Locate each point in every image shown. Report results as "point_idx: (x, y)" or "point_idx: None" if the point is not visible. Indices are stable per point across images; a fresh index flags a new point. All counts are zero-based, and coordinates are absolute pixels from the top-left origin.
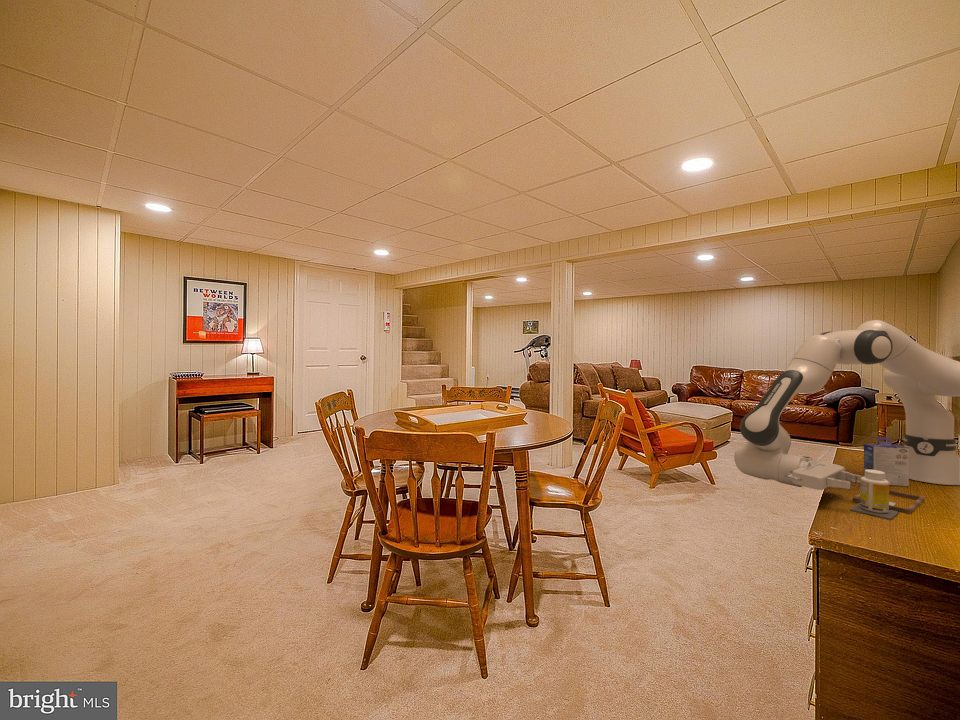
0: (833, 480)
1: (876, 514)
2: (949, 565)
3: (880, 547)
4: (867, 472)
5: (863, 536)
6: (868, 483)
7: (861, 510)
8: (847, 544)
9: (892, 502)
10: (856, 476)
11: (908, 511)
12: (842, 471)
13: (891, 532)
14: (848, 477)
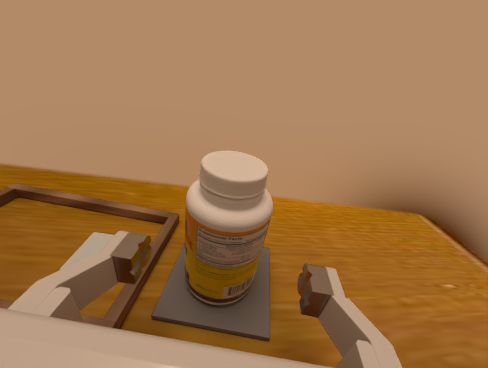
0: (380, 340)
1: (262, 271)
2: (411, 214)
3: (470, 271)
4: (260, 182)
5: (458, 296)
6: (270, 217)
7: (255, 304)
8: None
9: (91, 237)
10: (137, 246)
11: (178, 218)
12: (25, 309)
13: (359, 254)
14: (84, 293)
